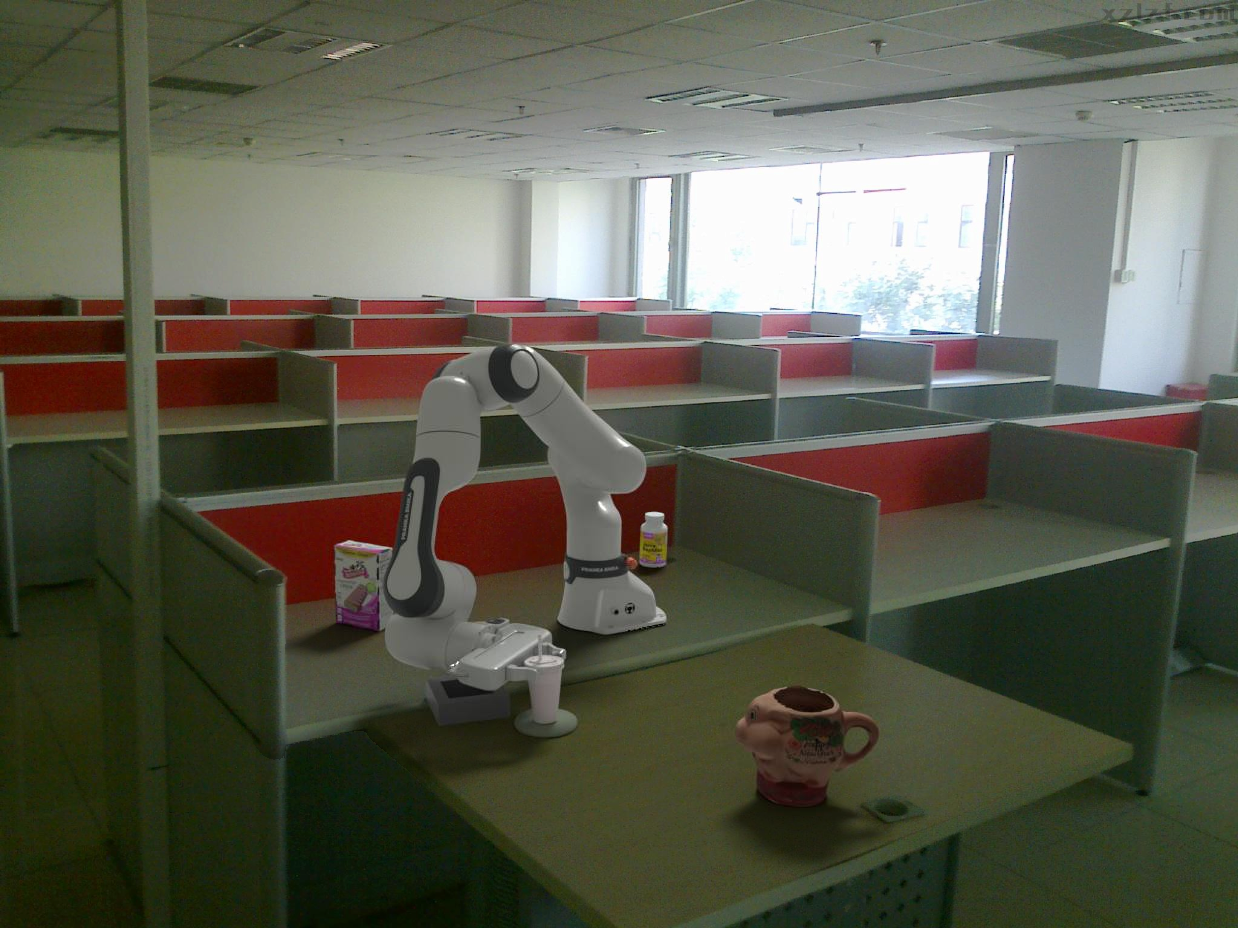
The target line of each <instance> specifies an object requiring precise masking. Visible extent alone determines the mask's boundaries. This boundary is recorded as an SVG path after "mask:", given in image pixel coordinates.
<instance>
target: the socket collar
mask: <svg viewBox="0 0 1238 928" xmlns="http://www.w3.org/2000/svg"><path fill="white" fill-rule="evenodd" d="M510 698H511V697H510V695H509V693H508V691H507V690H506V689H505V687H504V685H502V686H501V687H500V688H498V689H497V690H490V691H487V690H482V689H479V688H475V687H472V686H468V685H466V684H463V683H461V682H460V681H459V679H458V678H457V677H452V676H449V675H443V676H434V677H426V678H425V699H426V701H427V703H428V705H429V707H430V709H431V712H432V714H433V716H434V718H435V721H436V724H437V725H438V726H439V727H441V726H448V725H455V724H464V723H472V722H479V721H480V722H482V721H486V720H487V721H489V720H495V719H496V720H497V719H505V718H510V716H511V715H510V714H511V713H510V712H511V710H510V709H511V708H510V706H511V705H510V704H511V702H510V701H511V699H510Z"/></svg>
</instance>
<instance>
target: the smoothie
mask: <svg viewBox="0 0 1238 928" xmlns="http://www.w3.org/2000/svg"><path fill="white" fill-rule="evenodd" d="M538 655H539V656H533V657H530V658H528V659H526V660H525V661H524V667H530V666H534V667H538V668H540V670H541V672H540V678H539V679H537V680H536V681H529V680H527V683H528V690H529V695H530V697H529V698H530V703H531V709H532V711H533V717H534V721H535V722H537V723H541V724H548V723H553V722H555V721H556V720H557V715H558V709H559V704H560V693H561V682H562V671H563V669H564V667H565V660H563V659H562V658H561V657H558V656H553V655H542V637H541V634H538Z"/></svg>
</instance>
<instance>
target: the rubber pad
mask: <svg viewBox="0 0 1238 928" xmlns="http://www.w3.org/2000/svg"><path fill="white" fill-rule="evenodd" d="M513 722H514V724H513V725H514V728H515V729H516V730H517V731H518V732H519V733H521V734H523V735H525V736H528V737H529V736H530V737H533V738H542V739H543V738H556V737H562V736H565V735H568V734H570V733H571V732H573V731H575V730H576V728H577V727H578V718H577V716H576V715H574V713H571V712H570V711H568V710H566V709H561V708H558V715H557V720H556V721H555V722H553V723H548V724H541V723H537V722H535V721H534V717H533V711H532V708H531V709H526V710H525V711H522V712H520V713H519V714H517V715H516V717H515V718H514V721H513Z"/></svg>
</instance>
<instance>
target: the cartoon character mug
mask: <svg viewBox="0 0 1238 928" xmlns="http://www.w3.org/2000/svg"><path fill="white" fill-rule="evenodd" d="M853 728H860V729H861V728H862V729H864V730H865V732H866V733H867V735H868V741H867V743H866V744H865V745H864V746H863V747H862V748H860V750H859V751H857V752H855V753H852V752H848V751H847V750H846V748H845V739H846V735H847V733H848V732H849V731H850V730H851V729H853ZM734 736H735V739H736V741H737V742H738V743H739V744H740V745H741V746H743V747H744V748H745V749H746V750H748V751H749V752H750V753H751V754H752V757H753V759H754V761H755V763H756V766H757V767H756V780H755V781H756V782H755V783H756V787H757V790H758V791H759V793H760V794H761V795H762V796H763V797H765V798H766V799H767V800H770V801H771V802H773V803H775V804H779V805H783V806H784V805H785V806H790V807H797V808H798V807H812V806H815V805H818V804H821V803H822V802H823V801H824V799H825V798H826V796H827V793H828V786H829V781H830V775H831V774H832V772H833V771H835V772H837V773H840V772H842V771H844V770H846V769H848V768H851V767H852V766H854V765H856V764H858V763H859V762H860V761H861V760H864V758H866V757H867V755H868V754H869V753H870V752H871V751H872V750H873V749H874V747H875V746H876V745H877V744H878V741H879V737H880V730H879V727H878V726H877V723H876V721H874V719H873V718H872V717H870V716H869V715H867V714H865V713H860V712H856V711H848V712H847V711H844V710H843V709H842V708H841V705H840V703H839V702H838V701H837V699H836V698H834V697H833V696H832V695H830V694H828V693H826V692H824V691H821V690H819V689H814V688H811V687H804V686H803V685H791V686H790V685H789V686H785V687H780V688H774V689H772V690H770V691H768V693H764V694H760V695H759V696H756V697H754V698H753V699H752V701H751V702H750V703H749V705H748V706H747V708H746V713H745V715H744V716H743V717H742V718H741V719H739V720H738V721H737V723H736V724H735V727H734Z"/></svg>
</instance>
